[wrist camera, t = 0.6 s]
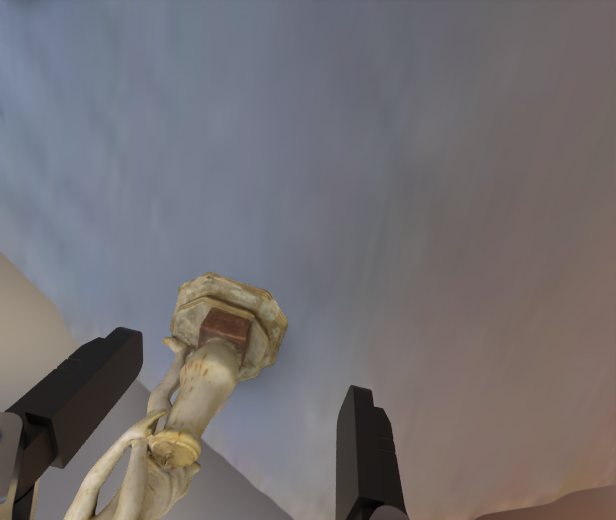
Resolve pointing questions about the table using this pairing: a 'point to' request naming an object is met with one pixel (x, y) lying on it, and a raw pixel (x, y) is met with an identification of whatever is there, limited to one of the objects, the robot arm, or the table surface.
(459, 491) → the table surface
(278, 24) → the table surface
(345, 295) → the table surface
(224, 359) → the statue
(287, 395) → the table surface
